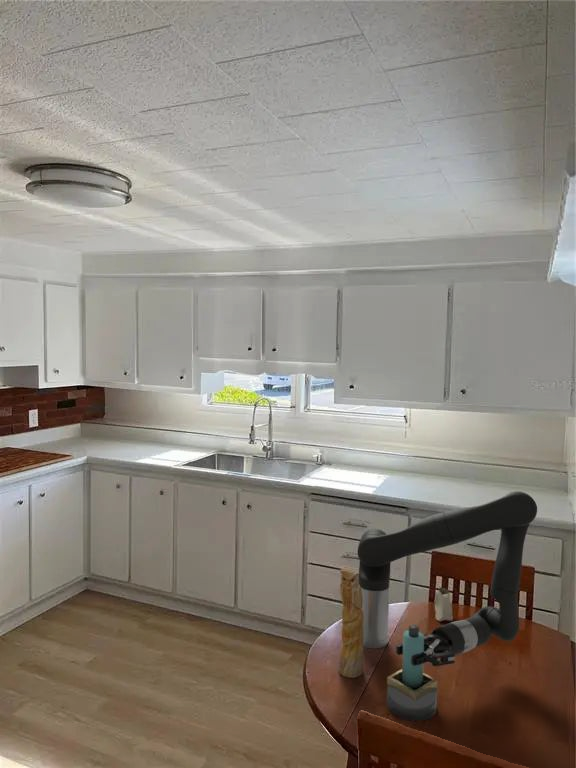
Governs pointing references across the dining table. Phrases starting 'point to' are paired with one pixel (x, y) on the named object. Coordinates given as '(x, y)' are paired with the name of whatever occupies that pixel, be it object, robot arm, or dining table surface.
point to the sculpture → (351, 625)
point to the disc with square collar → (412, 698)
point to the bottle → (411, 646)
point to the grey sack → (443, 605)
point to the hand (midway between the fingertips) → (405, 655)
